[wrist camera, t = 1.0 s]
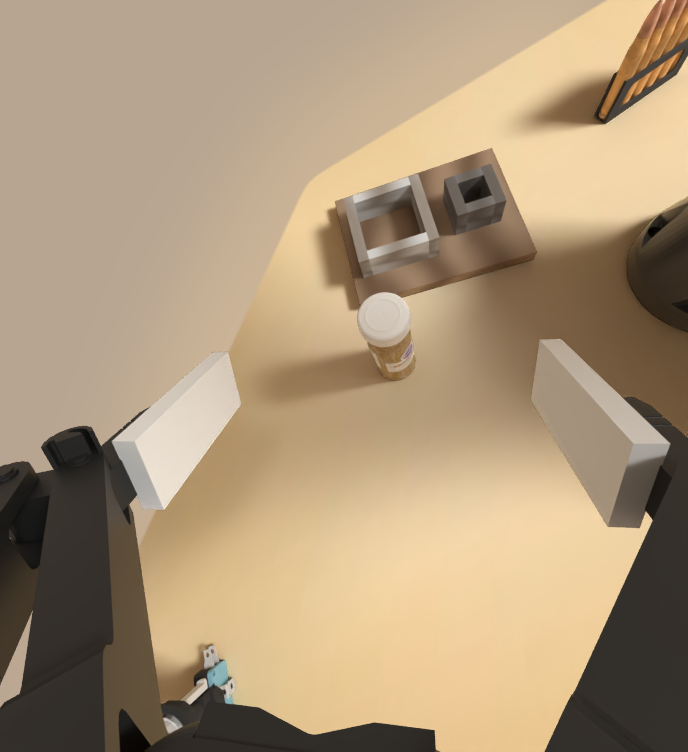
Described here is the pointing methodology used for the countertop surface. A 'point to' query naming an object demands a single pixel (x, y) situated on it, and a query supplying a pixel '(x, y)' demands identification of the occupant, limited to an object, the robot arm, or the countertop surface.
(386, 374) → the sprinkles bottle
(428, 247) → the socket board
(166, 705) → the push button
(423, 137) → the countertop surface
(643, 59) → the ammunition clip
